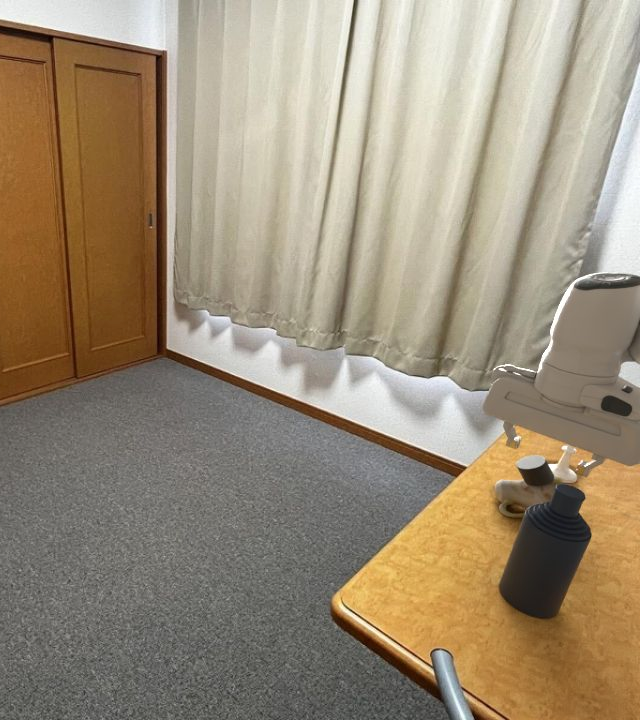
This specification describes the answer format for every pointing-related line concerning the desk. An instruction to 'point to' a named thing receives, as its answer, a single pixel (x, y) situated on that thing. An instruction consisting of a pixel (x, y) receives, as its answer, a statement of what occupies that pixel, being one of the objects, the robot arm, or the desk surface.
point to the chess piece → (565, 465)
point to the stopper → (535, 470)
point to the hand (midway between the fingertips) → (545, 459)
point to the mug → (523, 494)
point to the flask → (546, 554)
